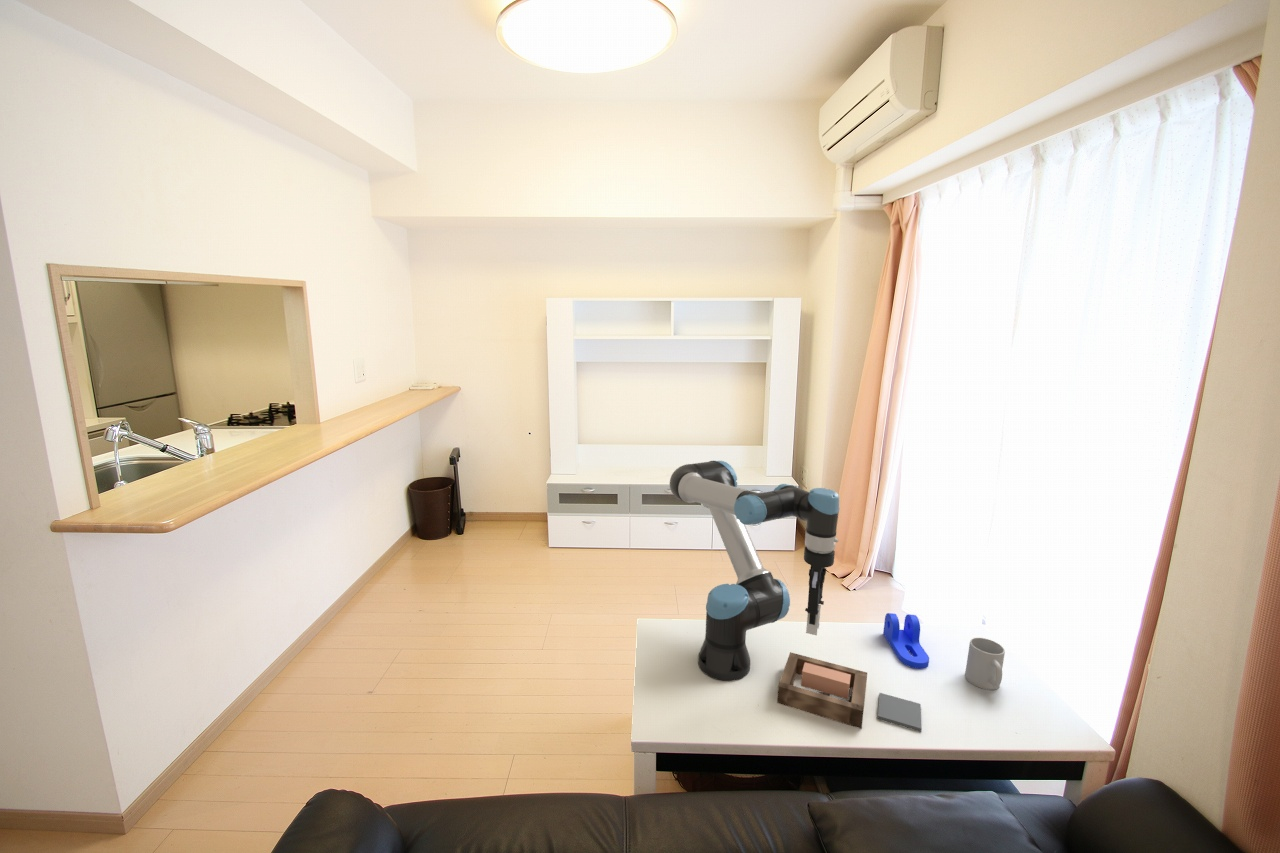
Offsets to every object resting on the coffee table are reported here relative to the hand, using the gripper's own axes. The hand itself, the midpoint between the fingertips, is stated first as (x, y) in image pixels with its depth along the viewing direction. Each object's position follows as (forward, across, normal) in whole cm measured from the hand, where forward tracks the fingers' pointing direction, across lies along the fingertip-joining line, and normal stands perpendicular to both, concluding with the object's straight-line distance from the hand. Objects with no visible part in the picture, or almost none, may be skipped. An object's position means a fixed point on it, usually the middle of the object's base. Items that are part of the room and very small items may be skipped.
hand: (812, 629), depth 147 cm
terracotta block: (+16, 0, -4) cm, 17 cm away
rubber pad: (+19, +2, -23) cm, 30 cm away
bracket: (+19, +34, -25) cm, 46 cm away
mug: (+19, +26, -45) cm, 55 cm away
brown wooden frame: (+19, 0, -4) cm, 19 cm away
